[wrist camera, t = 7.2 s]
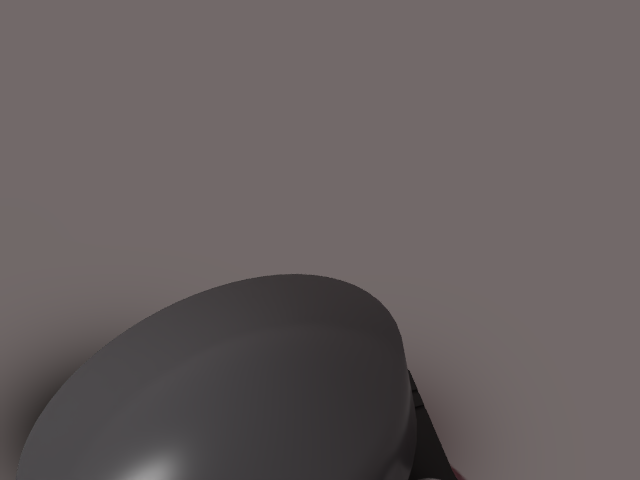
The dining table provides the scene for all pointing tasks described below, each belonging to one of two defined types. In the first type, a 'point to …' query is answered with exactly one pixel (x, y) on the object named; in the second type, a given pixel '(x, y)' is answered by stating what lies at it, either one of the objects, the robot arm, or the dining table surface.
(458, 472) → the dining table surface
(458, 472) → the dining table surface
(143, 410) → the plunger
